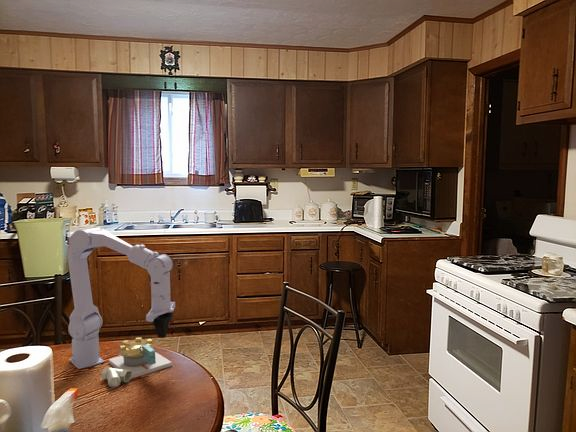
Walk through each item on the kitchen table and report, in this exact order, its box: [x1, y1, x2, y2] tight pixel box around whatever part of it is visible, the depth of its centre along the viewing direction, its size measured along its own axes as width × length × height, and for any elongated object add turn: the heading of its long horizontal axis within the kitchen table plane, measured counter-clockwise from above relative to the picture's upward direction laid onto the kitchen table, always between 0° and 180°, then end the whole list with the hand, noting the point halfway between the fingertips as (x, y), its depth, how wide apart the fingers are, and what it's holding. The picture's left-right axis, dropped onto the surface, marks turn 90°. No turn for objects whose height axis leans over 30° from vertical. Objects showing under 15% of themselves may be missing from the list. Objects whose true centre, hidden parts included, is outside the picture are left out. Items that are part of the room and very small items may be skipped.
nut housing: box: [108, 351, 173, 380], centre depth 146 cm, size 16×14×4 cm
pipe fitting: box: [101, 366, 132, 388], centre depth 133 cm, size 8×4×7 cm
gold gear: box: [119, 337, 156, 365], centre depth 142 cm, size 18×10×4 cm, turn 39°
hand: (162, 337), depth 142 cm, fingers closed
